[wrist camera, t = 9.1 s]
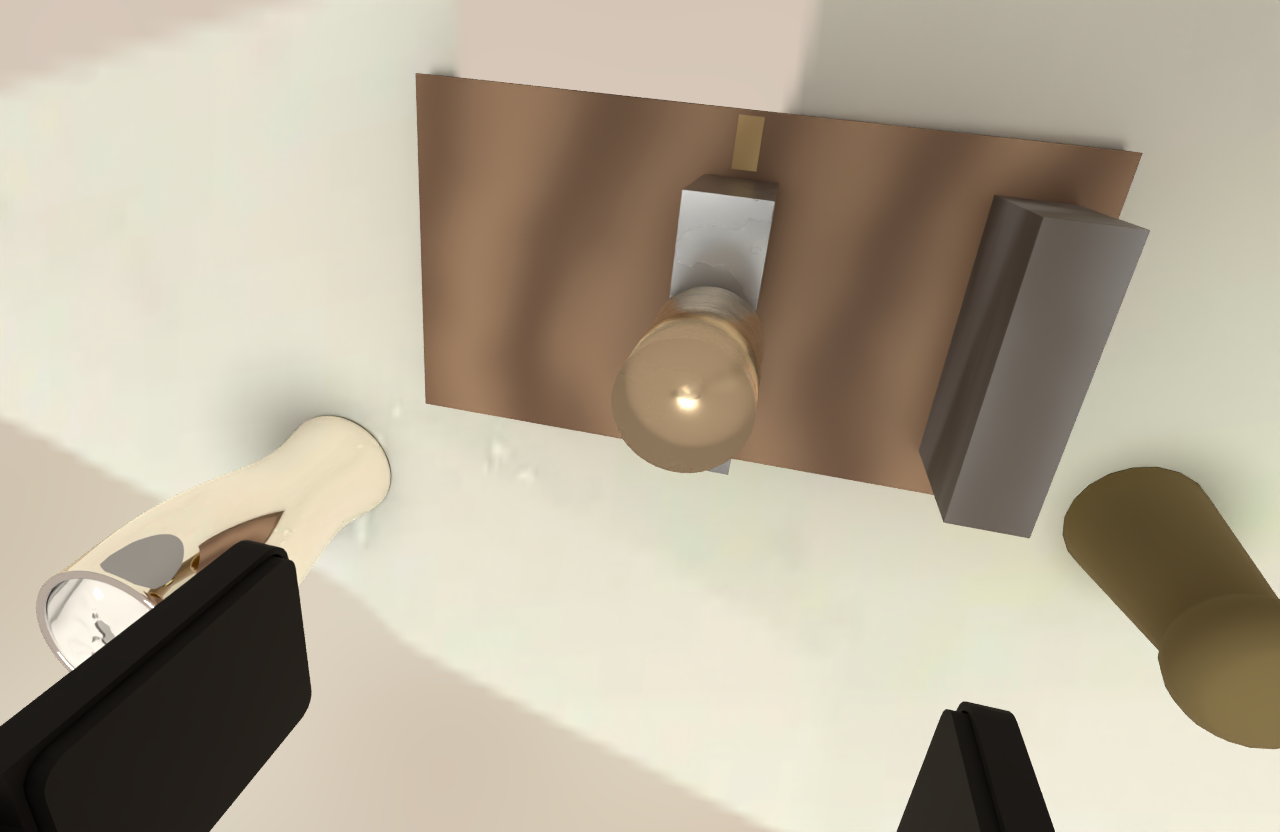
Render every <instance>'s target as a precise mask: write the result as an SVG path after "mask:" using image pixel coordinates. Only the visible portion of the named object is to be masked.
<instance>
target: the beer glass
mask: <svg viewBox="0 0 1280 832" xmlns="http://www.w3.org/2000/svg"><path fill="white" fill-rule="evenodd" d="M390 479H391V476H390V468H389V464H388V460H387V458H386V455H385V453H384V451H383V450H382V448H381V446H380V445H379V444H378V442H377V441H376V440H375V439H374V438H373V437H372V436H371V435H370V434H369V433H368V432H367V431H366V430H365V429H363V428H362V427H360V426H359V425H357V424H356V423H354V422H352V421H349V420H347V419H344V418H341V417H336V416H319V417H315V418H312V419H310V420H308V421H306V422H304V423H303V424H302V425H301V426H299V427H298V428H297V429H296V431H295V432H294V433H293V434H292V435H291V436H290V437H289V438H288V439H287V440H286V442H285V443H284V444H283V445H281V446H280V447H279V448H278V449H277V450H275V451H274V452H273V453H271V454H270V455H268V456H266V457H265V458H263V459H261V460H259V461H257V462H254V463H252V464H250V465H247V466H245V467H243V468H240V469H237V470H235V471H232V472H230V473H227V474H224V475H222V476H219V477H217V478H214V479H212V480H209V481H207V482H204V483H202V484H199V485H197V486H195V487H192V488H190V489H188V490H186V491H184V492H182V493H179V494H177V495H175V496H173V497H171V498H169V499H167V500H165V501H163V502H162V503H160V504H158V505H157V506H155V507H153V508H151V509H150V510H148V511H146V512H144V513H143V514H141V515H139V516H138V517H137V518H135V519H133V520H132V521H130V522H129V523H127V524H126V525H124V526H123V527H121V528H120V529H118V530H117V531H115V532H114V533H113V534H111V535H110V536H108V537H107V538H106V539H104V540H103V541H102V542H100V543H99V544H98V545H96V546H95V547H93V548H92V549H91V550H90V551H88V552H87V553H85V554H84V555H83V556H81V557H80V558H79V559H78V560H76V561H75V562H74V563H72V564H71V565H70V566H68V567H67V568H66V569H64V570H63V571H61V572H60V573H58V574H57V575H55V576H53V577H51V578H50V579H49V580H48V581H46V583H45V584H44V585H43V586H42V588H41V589H40V592H39V594H38V597H37V602H36V613H37V619H38V623H39V627H40V629H41V632H42V634H43V637H44V639H45V640H46V642H47V644H48V646H49V647H50V649H51V650H52V652H53V653H54V655H55V656H56V657H57V659H58V660H59V661H60V662H61V663H62V665H63V666H64V667H65V668H66V669H67V670H68V671H69V672H71V671H72V670H74V669H75V668H76V667H77V666H79V665H80V664H81V663H83V662H84V661H85V660H86V659H88V658H89V657H90V656H92V655H93V654H94V653H95V652H97V651H98V650H99V649H101V648H102V647H103V646H104V645H106V644H107V643H108V642H110V641H111V640H112V639H113V638H115V637H116V636H117V635H119V634H120V633H121V632H122V631H124V630H125V629H126V628H128V627H129V626H130V625H131V624H133V623H134V622H135V621H137V620H138V619H139V618H140V617H142V616H143V615H144V614H146V613H147V612H148V611H149V610H151V609H152V608H153V607H155V606H156V605H157V604H158V603H160V602H161V601H162V600H164V599H165V598H166V597H167V596H169V595H170V594H171V593H173V592H174V591H175V590H176V589H178V588H179V587H180V586H182V585H183V584H184V583H185V582H187V581H188V580H189V579H191V578H192V577H193V576H194V575H196V574H197V573H198V572H200V571H201V570H202V569H203V568H205V567H206V566H207V565H209V564H210V563H211V562H212V561H214V560H215V559H216V558H218V557H219V556H220V555H221V554H223V553H224V552H225V551H227V550H228V549H229V548H230V547H232V546H233V545H234V544H236V543H238V542H240V541H242V540H250V541H255V542H259V543H264V544H268V545H273V546H277V547H280V548H283V549H284V550H285V551H286V552H287V555H288V558H289V560H292V561H293V562H294V563H295V567H296V573H297V581H298V587H299V586H300V584H301V583H302V581H303V580H304V578H305V577H306V576H307V574H308V573H309V571H310V570H311V568H312V567H313V566H314V564H315V563H316V561H317V560H318V558H319V557H320V555H321V554H322V552H323V551H324V549H325V548H326V547H327V545H328V544H329V542H330V541H331V540H332V538H333V537H334V536H335V535H336V534H337V533H338V532H339V531H340V530H341V529H342V528H343V527H344V526H345V525H347V524H348V523H350V522H351V521H353V520H355V519H357V518H358V517H360V516H362V515H364V514H365V513H367V512H369V511H370V510H372V509H373V508H375V507H376V506H377V505H378V504H380V503H381V501H382V500H383V499H384V497H385V496H386V494H387V492H388V490H389V486H390Z"/></svg>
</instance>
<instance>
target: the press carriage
mask: <svg viewBox="0 0 1280 832" xmlns="http://www.w3.org/2000/svg"><path fill="white" fill-rule="evenodd" d="M778 187H779V183H775V182H766V181H758V180H750V179H742V178H734V177H726V176H718V175H710V174H703V175H702V176H700V177H699V178H698V179H696V180H695V181H693V182H692V183H691V184H689V185H688V186H687V187H685V188H684V189H683V190H682V196H681V205H680V213H679V222H678V230H677V239H676V247H675V256H674V264H673V273H672V281H671V289H670V298H669V301H668V302H666V304H665V305H664V306H663V307H662V308H661V310H660V311H659V313H658V314H657V316H656V317H655V319H654V320H653V322H652V323H651V325H650V326H649V328H648V329H647V331H646V332H645V334H644V335H643V337H642V338H641V339H640V341H639V342H638V344H637V345H636V347H635V348H634V350H633V351H632V353H631V354H630V356H629V357H628V359H627V360H626V362H625V363H624V365H623V366H622V368H621V369H620V371H619V373H618V375H617V377H616V379H615V382H614V385H613V390H612V396H611V406H612V414H613V418H614V422H615V424H616V427H617V429H618V431H619V433H620V435H621V437H622V438H623V440H624V441H625V442H626V444H627V445H628V446H629V447H630V448H631V449H632V450H633V451H634V452H635V453H636V454H637V455H638V456H640V457H641V458H642V459H644V460H645V461H647V462H649V463H651V464H652V465H654V466H657V467H659V468H662V469H665V470H669V471H673V472H680V473H695V472H702V471H711V472H716V473H722V474H727V475H728V472H729V467H730V462H731V458H733V457H734V456H735V455H736V454H737V453H738V452H739V451H740V450H741V449H742V447H743V446H744V445H745V443H746V442H747V440H748V438H749V436H750V434H751V431H752V429H753V425H754V421H755V414H756V407H757V399H758V392H759V385H760V377H761V370H762V362H763V355H764V347H765V337H764V331H763V328H762V324H761V322H760V320H759V318H758V316H757V309H758V303H759V298H760V292H761V286H762V280H763V274H764V269H765V263H766V257H767V251H768V245H769V240H770V234H771V228H772V222H773V216H774V211H775V205H776V199H777V193H778Z"/></svg>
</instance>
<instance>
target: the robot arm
mask: <svg viewBox="0 0 1280 832" xmlns="http://www.w3.org/2000/svg"><path fill="white" fill-rule="evenodd" d="M310 699H311V684H310V676H309V668H308V660H307V652H306V644H305V637H304V628H303V620H302V612H301V604H300V596H299V589H298V581H297V573H296V567H295V563H294V562H293V561H292V560H289V558H288V555H287V552H286V551H285V550H284V549H283V548H280V547H277V546H273V545H268V544H264V543H259V542H255V541H250V540H242V541H240V542H238V543H236V544H234V545H233V546H232V547H230V548H229V549H228V550H227V551H225V552H224V553H223V554H221V555H220V556H219V557H218V558H216V559H215V560H214V561H212V562H211V563H210V564H209V565H207V566H206V567H205V568H203V569H202V570H201V571H200V572H198V573H197V574H196V575H194V576H193V577H192V578H191V579H189V580H188V581H187V582H185V583H184V584H183V585H182V586H180V587H179V588H178V589H176V590H175V591H174V592H173V593H171V594H170V595H169V596H167V597H166V598H165V599H164V600H162V601H161V602H160V603H158V604H157V605H156V606H155V607H153V608H152V609H151V610H149V611H148V612H147V613H146V614H144V615H143V616H142V617H140V618H139V619H138V620H137V621H135V622H134V623H133V624H131V625H130V626H129V627H128V628H126V629H125V630H124V631H122V632H121V633H120V634H119V635H117V636H116V637H115V638H113V639H112V640H111V641H110V642H108V643H107V644H106V645H104V646H103V647H102V648H101V649H99V650H98V651H97V652H95V653H94V654H93V655H92V656H90V657H89V658H88V659H86V660H85V661H84V662H83V663H81V664H80V665H79V666H77V667H76V668H75V669H74V670H72V671H71V672H70V673H68V674H67V675H66V676H65V677H63V678H62V679H61V680H60V681H58V682H57V683H56V684H54V685H53V686H52V687H50V688H49V689H48V690H47V691H45V692H44V693H43V694H41V695H40V696H39V697H38V698H36V699H35V700H34V701H32V702H31V703H30V704H29V705H27V706H26V707H25V708H23V709H22V710H21V711H20V712H18V713H17V714H16V715H14V716H13V717H12V718H11V719H9V720H8V721H7V722H5V723H4V724H3V725H1V726H0V832H210V830H211V829H212V828H213V827H214V825H215V824H216V823H217V822H218V821H219V819H220V818H221V817H222V816H223V814H224V813H225V812H226V811H227V809H228V808H229V807H230V806H231V805H232V803H233V802H234V801H235V800H236V798H237V797H238V796H239V795H240V793H241V792H242V791H243V790H244V789H245V787H246V786H247V785H248V784H249V782H250V781H251V780H252V779H253V777H254V776H255V775H256V774H257V772H258V771H259V770H260V769H261V768H262V766H263V765H264V764H265V763H266V762H267V760H268V759H269V758H270V757H271V755H272V754H273V753H274V751H275V750H276V749H277V748H278V747H279V746H280V744H281V743H282V742H283V741H284V739H285V738H286V737H287V736H288V734H289V733H290V732H291V731H292V730H293V728H294V727H295V725H297V723H298V722H299V721H300V720H301V718H302V717H303V716H304V714H305V712H306V710H307V708H308V706H309V703H310ZM897 832H1055V830H1054V827H1053V824H1052V821H1051V818H1050V816H1049V813H1048V810H1047V807H1046V804H1045V801H1044V798H1043V795H1042V793H1041V790H1040V787H1039V784H1038V781H1037V778H1036V775H1035V772H1034V769H1033V767H1032V764H1031V761H1030V758H1029V755H1028V752H1027V749H1026V746H1025V744H1024V741H1023V738H1022V735H1021V732H1020V729H1019V726H1018V723H1017V721H1016V719H1015V717H1014V715H1013V714H1012V713H1011V712H1010V711H1006V710H1001V709H997V708H992V707H988V706H983V705H979V704H974V703H970V702H962V703H961V704H960V705H959V707H958V708H957V710H956V711H953V710H949V709H946V710H944V711H943V713H942V715H941V717H940V720H939V723H938V725H937V728H936V730H935V733H934V736H933V738H932V741H931V743H930V746H929V749H928V751H927V754H926V757H925V759H924V762H923V764H922V767H921V770H920V772H919V775H918V777H917V780H916V783H915V785H914V788H913V790H912V793H911V796H910V798H909V801H908V803H907V806H906V809H905V811H904V814H903V816H902V819H901V822H900V824H899V827H898V829H897Z"/></svg>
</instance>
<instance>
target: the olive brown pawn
mask: <svg viewBox="0 0 1280 832" xmlns="http://www.w3.org/2000/svg"><path fill="white" fill-rule="evenodd" d="M1063 537H1064V540H1065V544H1066V547H1067V550H1068V552H1069V553H1070V554H1071V555H1072V557H1073V558H1074V559H1075V560H1076V561H1077V563H1078V564H1079V565H1080V566H1081V567H1082V568H1083V569H1084V570H1085V572H1086V573H1087V574H1088V575H1089V576H1090V577H1091V578H1092V579H1093V580H1094V581H1095V582H1096V583H1097V584H1098V586H1099V587H1100V588H1101V589H1102V590H1103V591H1104V592H1105V593H1106V594H1107V595H1108V596H1109V597H1110V599H1111V600H1112V601H1113V602H1114V603H1115V604H1116V605H1117V606H1118V607H1119V608H1120V609H1121V610H1122V611H1123V613H1124V614H1125V615H1126V616H1127V617H1128V618H1129V619H1130V620H1131V621H1132V622H1133V623H1134V624H1135V625H1136V627H1137V628H1138V629H1139V630H1140V631H1141V632H1142V633H1143V634H1144V635H1145V636H1146V637H1147V638H1148V640H1149V641H1150V642H1151V643H1152V644H1153V645H1154V646H1155V647H1156V648H1157V649H1158V650H1159V653H1158V661H1159V665H1160V669H1161V673H1162V676H1163V680H1164V684H1165V687H1166V689H1167V690H1168V692H1169V694H1170V695H1171V697H1172V699H1173V700H1174V701H1175V702H1176V704H1177V705H1178V706H1179V707H1180V708H1181V709H1182V711H1183V712H1184V713H1185V714H1186V715H1187V716H1188V717H1189V718H1190V719H1191V720H1192V721H1193V722H1195V723H1196V724H1197V725H1198V726H1200V727H1202V728H1203V729H1205V730H1207V731H1208V732H1210V733H1212V734H1214V735H1215V736H1217V737H1220V738H1222V739H1224V740H1226V741H1228V742H1232V743H1235V744H1239V745H1243V746H1246V747H1250V748H1265V749H1278V748H1280V599H1278V597H1277V596H1276V594H1275V593H1274V591H1273V590H1272V588H1271V587H1270V586H1269V584H1268V583H1267V581H1266V580H1265V578H1264V577H1263V575H1262V574H1261V572H1260V571H1259V570H1258V568H1257V567H1256V565H1255V564H1254V562H1253V561H1252V559H1251V558H1250V557H1249V555H1248V554H1247V552H1246V551H1245V549H1244V548H1243V546H1242V545H1241V543H1240V542H1239V541H1238V539H1237V538H1236V536H1235V535H1234V533H1233V532H1232V530H1231V529H1230V527H1229V526H1228V525H1227V523H1226V522H1225V520H1224V519H1223V517H1222V516H1221V514H1220V513H1219V511H1218V510H1217V509H1216V507H1215V506H1214V504H1213V503H1212V501H1211V500H1210V498H1209V497H1208V496H1207V494H1206V493H1205V492H1204V491H1203V489H1202V488H1201V487H1200V485H1199V484H1198V483H1196V482H1195V481H1193V480H1191V479H1190V478H1188V477H1186V476H1185V475H1183V474H1181V473H1179V472H1175V471H1171V470H1167V469H1163V468H1159V467H1144V468H1130V469H1127V470H1123V471H1119V472H1115V473H1111V474H1109V475H1107V476H1105V477H1103V478H1101V479H1100V480H1098V481H1096V482H1094V483H1092V484H1090V485H1089V486H1088V487H1087V488H1086V489H1085V490H1084V491H1083V492H1082V493H1081V494H1080V495H1079V496H1077V497H1076V498H1075V499H1074V501H1073V502H1072V504H1071V506H1070V508H1069V510H1068V512H1067V514H1066V516H1065V519H1064V528H1063Z"/></svg>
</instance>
